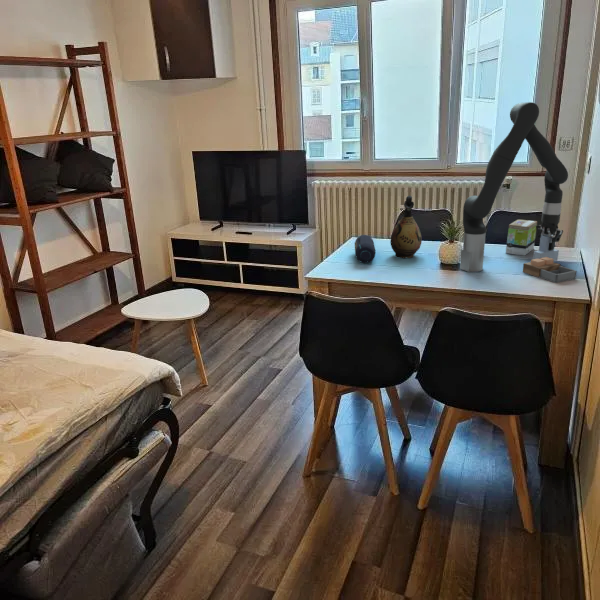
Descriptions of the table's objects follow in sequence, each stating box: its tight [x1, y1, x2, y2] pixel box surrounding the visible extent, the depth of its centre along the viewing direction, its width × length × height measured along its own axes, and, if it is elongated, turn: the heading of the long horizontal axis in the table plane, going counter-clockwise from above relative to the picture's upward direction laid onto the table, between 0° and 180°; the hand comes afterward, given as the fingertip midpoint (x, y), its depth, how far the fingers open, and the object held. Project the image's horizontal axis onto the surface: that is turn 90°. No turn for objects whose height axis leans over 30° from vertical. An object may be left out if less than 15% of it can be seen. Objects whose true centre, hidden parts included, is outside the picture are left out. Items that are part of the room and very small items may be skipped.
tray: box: [539, 265, 577, 284], centre depth 226 cm, size 11×8×4 cm
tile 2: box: [540, 257, 555, 265], centre depth 234 cm, size 4×4×2 cm
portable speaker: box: [354, 234, 376, 264], centre depth 267 cm, size 25×10×10 cm, turn 175°
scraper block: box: [532, 235, 560, 262], centre depth 244 cm, size 11×4×12 cm, turn 113°
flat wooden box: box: [522, 261, 561, 278], centre depth 234 cm, size 12×9×4 cm
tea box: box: [505, 219, 538, 256], centre depth 265 cm, size 15×10×15 cm
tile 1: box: [530, 258, 545, 266], centre depth 232 cm, size 4×4×2 cm
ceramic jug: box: [389, 195, 423, 259], centre depth 264 cm, size 17×15×30 cm
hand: (546, 249), depth 244 cm, fingers closed on scraper block, 4 cm apart
